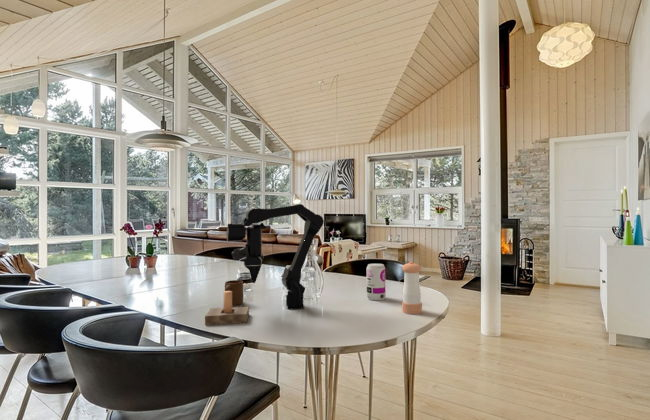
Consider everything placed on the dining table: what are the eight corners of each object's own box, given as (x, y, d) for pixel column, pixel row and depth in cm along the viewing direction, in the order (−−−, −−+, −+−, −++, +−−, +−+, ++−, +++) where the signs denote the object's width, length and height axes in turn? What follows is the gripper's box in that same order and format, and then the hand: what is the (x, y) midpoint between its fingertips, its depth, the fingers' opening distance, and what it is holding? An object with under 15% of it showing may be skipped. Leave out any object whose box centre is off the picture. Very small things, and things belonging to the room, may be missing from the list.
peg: (232, 318, 131) (232, 290, 131) (231, 320, 128) (231, 292, 128) (224, 318, 130) (224, 291, 130) (223, 320, 127) (222, 292, 127)
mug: (235, 309, 142) (235, 285, 142) (217, 309, 143) (217, 285, 143) (245, 301, 154) (245, 280, 154) (229, 301, 155) (228, 279, 155)
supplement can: (388, 297, 159) (388, 264, 159) (380, 301, 152) (380, 266, 152) (371, 295, 163) (371, 262, 163) (363, 299, 156) (363, 265, 156)
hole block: (248, 314, 135) (248, 306, 135) (246, 322, 125) (246, 314, 125) (210, 316, 133) (210, 308, 133) (205, 324, 123) (205, 316, 123)
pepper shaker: (425, 311, 137) (425, 261, 137) (414, 315, 132) (414, 263, 132) (409, 307, 142) (408, 259, 142) (398, 311, 137) (398, 261, 137)
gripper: (235, 239, 147) (236, 277, 147) (229, 243, 129) (230, 286, 129) (263, 238, 149) (263, 276, 149) (261, 242, 130) (261, 285, 130)
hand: (254, 280), depth 139 cm, fingers open, 9 cm apart
